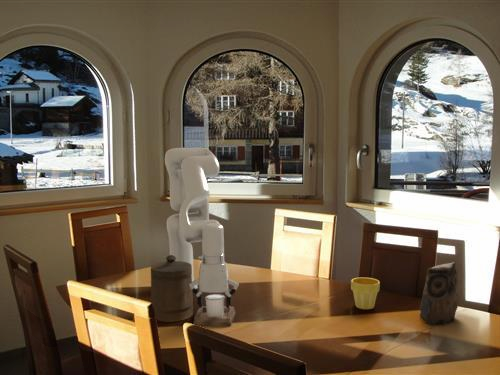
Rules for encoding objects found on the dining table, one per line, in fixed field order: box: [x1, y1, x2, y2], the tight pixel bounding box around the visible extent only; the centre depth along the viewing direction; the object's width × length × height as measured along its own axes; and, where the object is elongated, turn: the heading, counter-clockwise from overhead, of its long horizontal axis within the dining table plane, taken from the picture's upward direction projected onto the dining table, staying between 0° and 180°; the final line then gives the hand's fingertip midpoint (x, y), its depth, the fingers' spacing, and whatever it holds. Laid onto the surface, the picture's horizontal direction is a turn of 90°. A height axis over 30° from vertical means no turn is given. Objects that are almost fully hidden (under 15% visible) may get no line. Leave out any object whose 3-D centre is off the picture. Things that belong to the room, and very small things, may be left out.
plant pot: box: [350, 277, 381, 310], centre depth 206 cm, size 10×10×10 cm
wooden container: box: [150, 254, 194, 323], centre depth 200 cm, size 15×15×22 cm
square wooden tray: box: [192, 305, 236, 327], centre depth 196 cm, size 13×13×2 cm
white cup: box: [204, 293, 226, 317], centre depth 196 cm, size 7×7×7 cm
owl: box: [419, 261, 459, 327], centre depth 190 cm, size 13×13×20 cm
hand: (214, 306), depth 196 cm, fingers open, 9 cm apart
